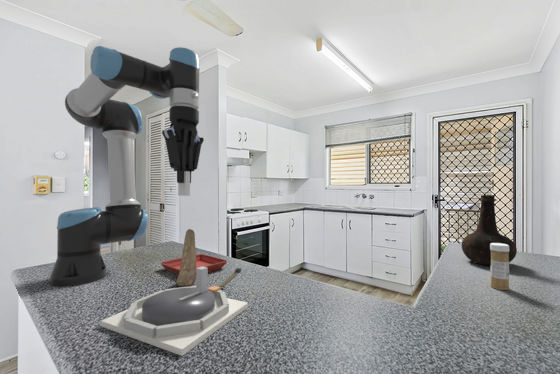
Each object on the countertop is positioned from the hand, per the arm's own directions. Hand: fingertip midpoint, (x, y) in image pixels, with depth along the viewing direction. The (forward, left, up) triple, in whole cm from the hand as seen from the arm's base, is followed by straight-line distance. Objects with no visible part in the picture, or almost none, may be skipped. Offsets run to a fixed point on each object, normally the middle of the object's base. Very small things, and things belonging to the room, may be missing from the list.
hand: (184, 195), depth 72 cm
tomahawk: (+2, +19, -29) cm, 35 cm away
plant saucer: (-18, +23, -29) cm, 41 cm away
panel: (+6, -7, -28) cm, 30 cm away
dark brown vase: (+84, +81, -29) cm, 120 cm away
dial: (+6, -7, -27) cm, 29 cm away
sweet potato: (-9, +10, -29) cm, 32 cm away
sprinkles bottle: (+80, +49, -29) cm, 98 cm away
